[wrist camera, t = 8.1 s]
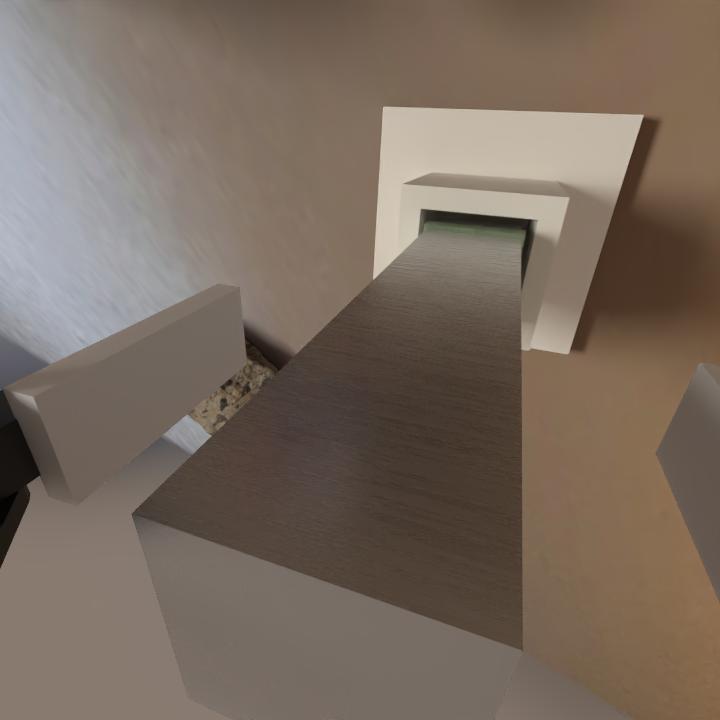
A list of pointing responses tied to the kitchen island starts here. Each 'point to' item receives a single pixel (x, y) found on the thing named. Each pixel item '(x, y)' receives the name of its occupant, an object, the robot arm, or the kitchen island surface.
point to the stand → (510, 195)
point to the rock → (234, 392)
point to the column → (363, 507)
